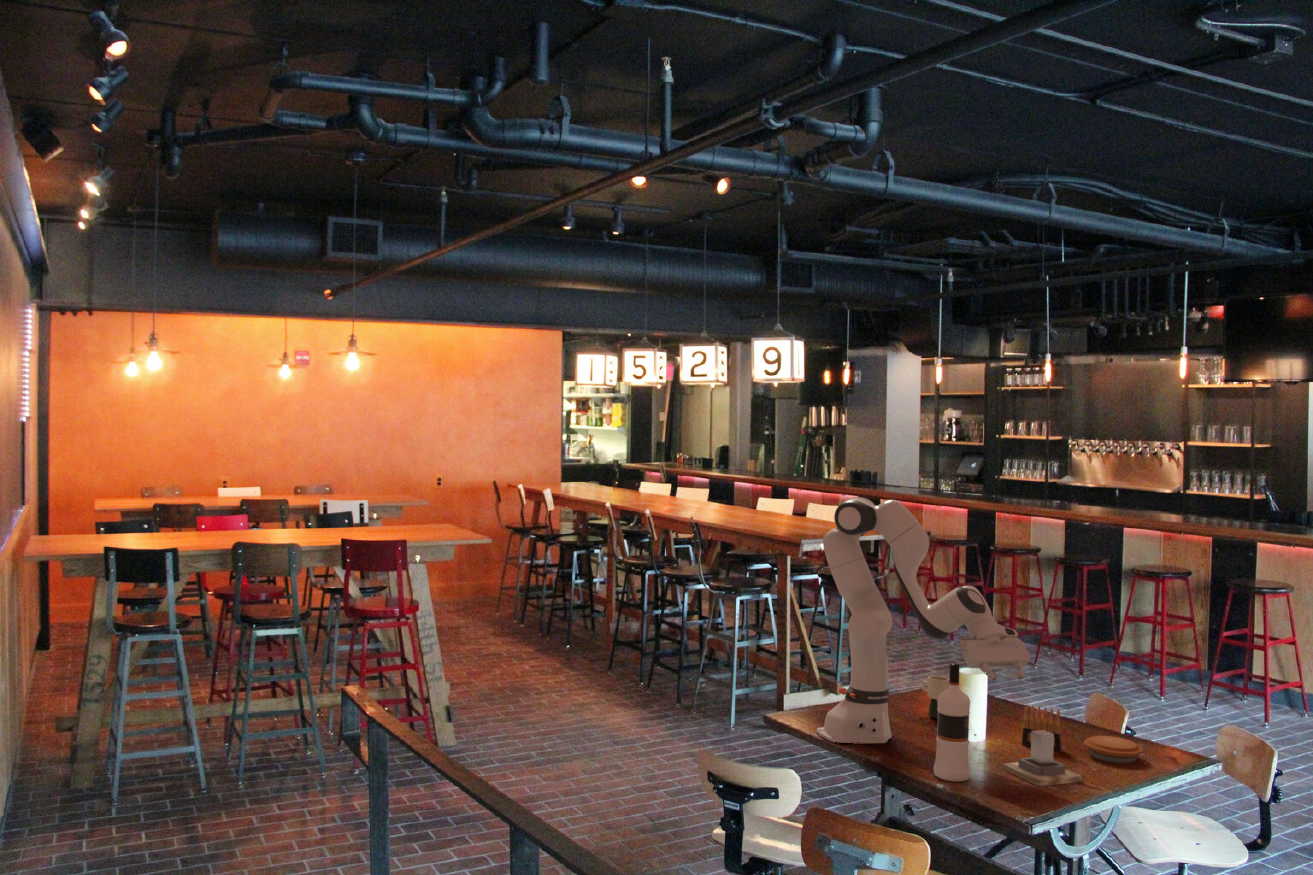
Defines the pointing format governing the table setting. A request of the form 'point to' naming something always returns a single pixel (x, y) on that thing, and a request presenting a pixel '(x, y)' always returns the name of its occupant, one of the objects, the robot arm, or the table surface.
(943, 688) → the character mug
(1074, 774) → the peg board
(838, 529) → the robot arm
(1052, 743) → the grey rectangular block
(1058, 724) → the ammunition clip
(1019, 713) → the table surface
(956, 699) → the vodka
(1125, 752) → the pie
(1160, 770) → the table surface
